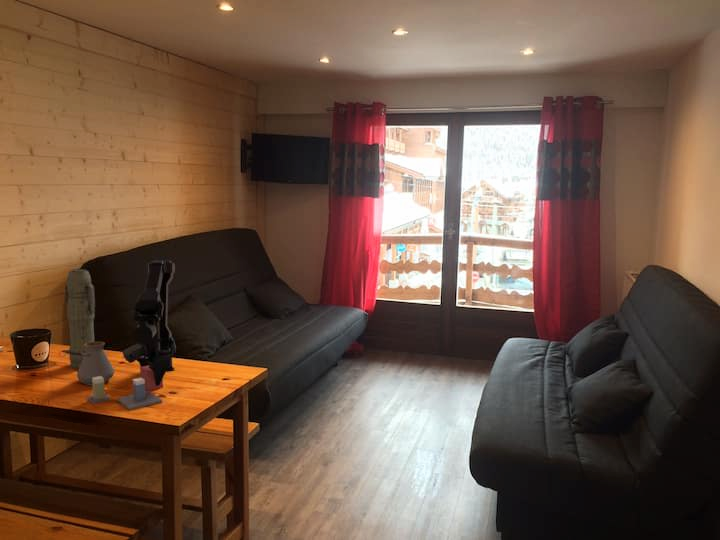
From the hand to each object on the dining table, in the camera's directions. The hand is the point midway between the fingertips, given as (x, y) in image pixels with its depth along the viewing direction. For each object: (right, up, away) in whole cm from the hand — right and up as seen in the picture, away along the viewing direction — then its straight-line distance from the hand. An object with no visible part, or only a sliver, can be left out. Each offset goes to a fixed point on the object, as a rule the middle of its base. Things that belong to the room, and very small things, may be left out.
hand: (151, 381), depth 191 cm
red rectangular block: (0, -2, 0) cm, 2 cm away
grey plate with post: (+1, -4, -12) cm, 13 cm away
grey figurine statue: (-32, +2, +21) cm, 38 cm away
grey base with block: (-12, -3, -12) cm, 17 cm away
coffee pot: (-21, -2, 0) cm, 21 cm away
